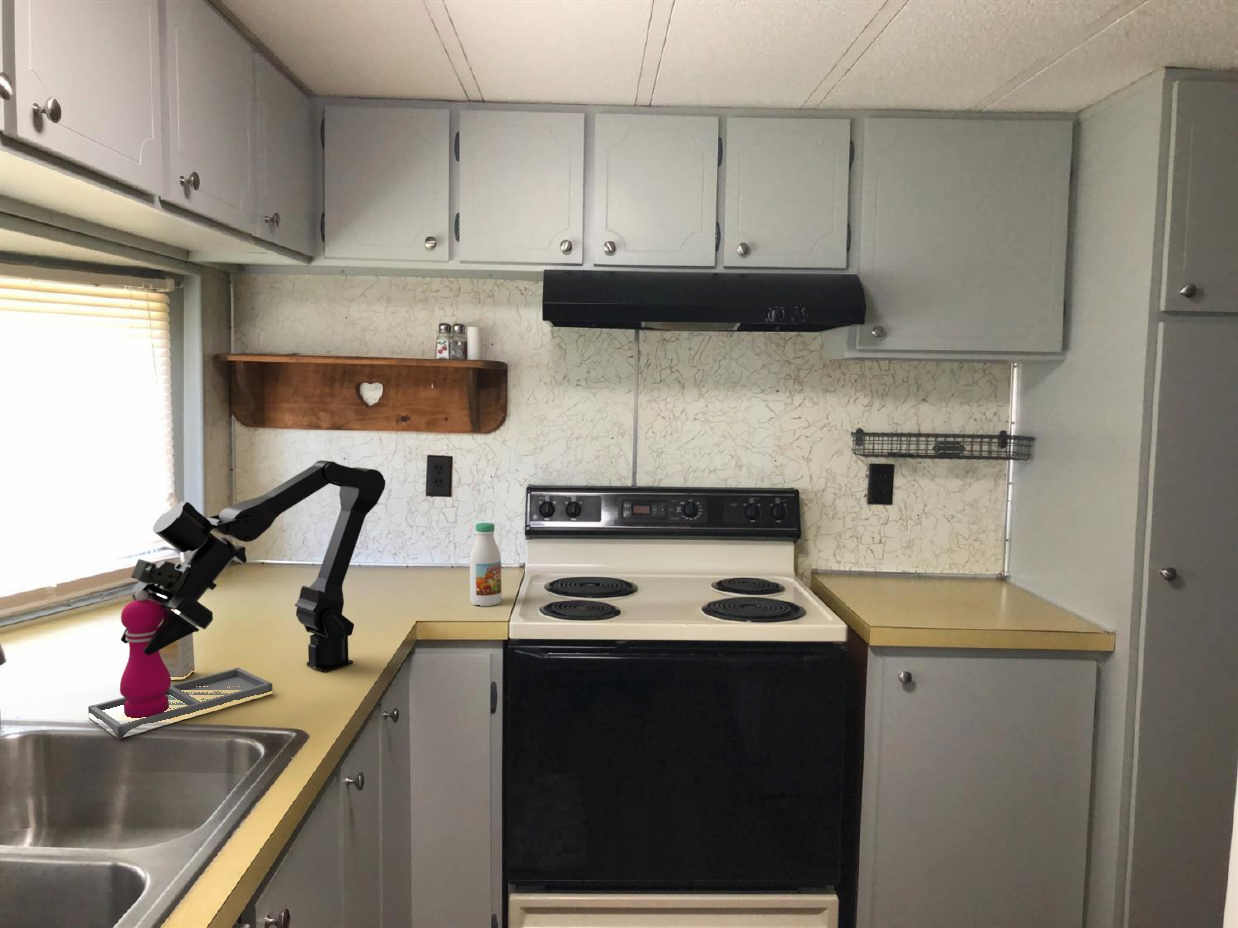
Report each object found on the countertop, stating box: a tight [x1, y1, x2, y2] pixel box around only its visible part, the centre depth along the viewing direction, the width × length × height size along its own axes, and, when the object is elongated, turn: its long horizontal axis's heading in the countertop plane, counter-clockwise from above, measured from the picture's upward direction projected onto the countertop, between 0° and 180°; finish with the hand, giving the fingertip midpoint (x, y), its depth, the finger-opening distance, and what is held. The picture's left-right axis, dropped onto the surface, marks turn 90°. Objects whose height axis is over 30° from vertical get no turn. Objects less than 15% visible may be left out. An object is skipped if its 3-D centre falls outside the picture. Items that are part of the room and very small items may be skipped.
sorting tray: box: [87, 667, 274, 741], centre depth 138 cm, size 24×13×2 cm, turn 140°
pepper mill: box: [119, 590, 172, 718], centre depth 133 cm, size 7×7×20 cm
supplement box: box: [158, 609, 196, 677], centre depth 152 cm, size 8×5×13 cm, turn 92°
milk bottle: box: [469, 522, 502, 607], centre depth 204 cm, size 8×8×20 cm
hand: (134, 647), depth 132 cm, fingers open, 9 cm apart
